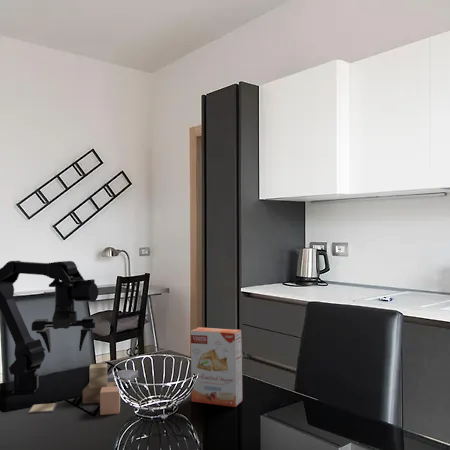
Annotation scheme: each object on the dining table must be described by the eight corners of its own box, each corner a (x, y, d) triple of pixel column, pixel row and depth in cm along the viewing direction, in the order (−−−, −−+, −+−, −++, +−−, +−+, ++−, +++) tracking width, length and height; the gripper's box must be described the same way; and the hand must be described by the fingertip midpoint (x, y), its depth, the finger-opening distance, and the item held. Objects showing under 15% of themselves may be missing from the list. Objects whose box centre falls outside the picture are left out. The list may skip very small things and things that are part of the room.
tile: (27, 413, 132) (27, 412, 132) (32, 405, 138) (32, 404, 138) (53, 411, 133) (53, 410, 133) (57, 404, 139) (57, 402, 139)
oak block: (89, 389, 141) (89, 368, 141) (90, 384, 146) (90, 364, 146) (107, 387, 142) (106, 367, 143) (107, 383, 147) (107, 363, 147)
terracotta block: (100, 415, 130) (100, 392, 130) (101, 408, 135) (101, 387, 135) (119, 413, 131) (118, 391, 131) (120, 407, 136) (119, 386, 136)
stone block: (102, 395, 154) (132, 388, 153) (99, 380, 154) (129, 373, 154) (112, 385, 166) (140, 379, 165) (110, 371, 166) (138, 365, 166)
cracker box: (190, 402, 139) (189, 329, 140) (199, 396, 144) (198, 326, 145) (235, 408, 133) (234, 332, 134) (243, 401, 139) (241, 328, 140)
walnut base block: (82, 404, 140) (82, 390, 140) (89, 395, 148) (89, 382, 148) (110, 403, 140) (110, 389, 140) (115, 395, 148) (115, 382, 148)
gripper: (27, 305, 141) (27, 359, 140) (92, 303, 144) (93, 355, 143) (35, 301, 152) (35, 351, 151) (96, 299, 155) (96, 348, 154)
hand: (64, 351), depth 150 cm, fingers open, 9 cm apart
